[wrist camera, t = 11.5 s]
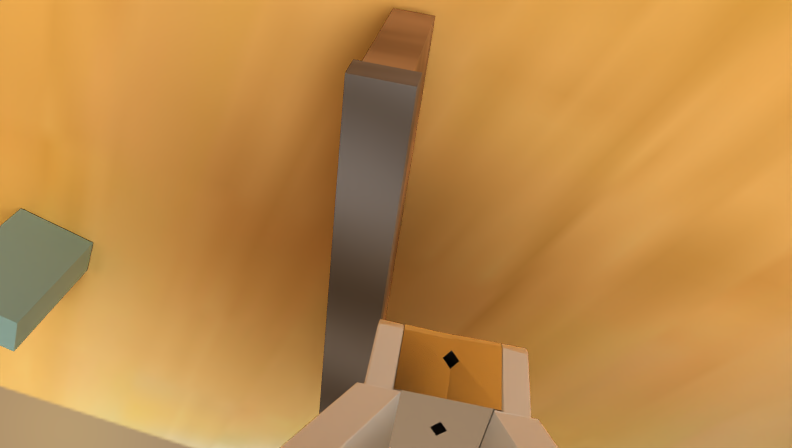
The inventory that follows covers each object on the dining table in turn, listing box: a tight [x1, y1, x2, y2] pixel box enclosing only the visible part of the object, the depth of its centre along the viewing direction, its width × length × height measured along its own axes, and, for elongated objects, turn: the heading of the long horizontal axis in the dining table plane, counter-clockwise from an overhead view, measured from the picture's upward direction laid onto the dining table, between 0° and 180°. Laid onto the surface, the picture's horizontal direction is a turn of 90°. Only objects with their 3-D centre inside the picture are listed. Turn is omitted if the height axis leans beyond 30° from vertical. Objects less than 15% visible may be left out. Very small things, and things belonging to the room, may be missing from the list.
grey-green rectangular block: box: [0, 209, 93, 351], centre depth 30 cm, size 4×2×6 cm, turn 63°
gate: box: [319, 8, 435, 414], centre depth 24 cm, size 18×2×6 cm, turn 173°
